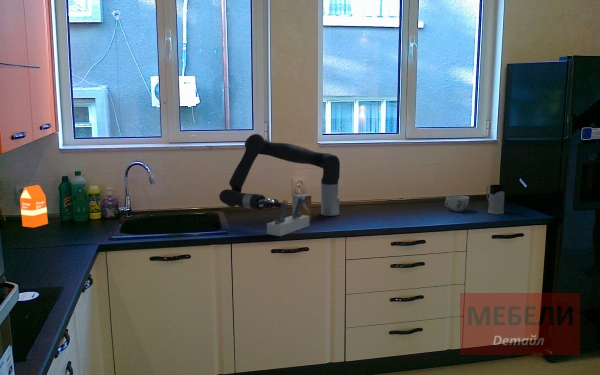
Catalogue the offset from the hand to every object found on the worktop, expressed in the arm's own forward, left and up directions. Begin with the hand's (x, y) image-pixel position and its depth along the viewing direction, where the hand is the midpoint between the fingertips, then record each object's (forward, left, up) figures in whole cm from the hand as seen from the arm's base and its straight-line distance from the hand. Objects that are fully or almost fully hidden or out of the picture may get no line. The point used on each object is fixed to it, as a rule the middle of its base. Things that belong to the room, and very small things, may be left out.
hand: (282, 205), depth 245 cm
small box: (-18, -24, -14) cm, 33 cm away
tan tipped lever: (+1, -1, -7) cm, 7 cm away
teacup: (-107, -16, -14) cm, 109 cm away
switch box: (-5, -5, -14) cm, 15 cm away
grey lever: (-10, -10, -8) cm, 16 cm away
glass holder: (-126, -8, -14) cm, 127 cm away
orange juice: (+114, -56, -14) cm, 128 cm away
